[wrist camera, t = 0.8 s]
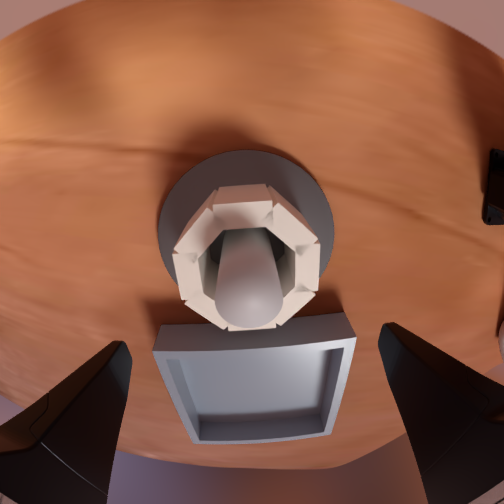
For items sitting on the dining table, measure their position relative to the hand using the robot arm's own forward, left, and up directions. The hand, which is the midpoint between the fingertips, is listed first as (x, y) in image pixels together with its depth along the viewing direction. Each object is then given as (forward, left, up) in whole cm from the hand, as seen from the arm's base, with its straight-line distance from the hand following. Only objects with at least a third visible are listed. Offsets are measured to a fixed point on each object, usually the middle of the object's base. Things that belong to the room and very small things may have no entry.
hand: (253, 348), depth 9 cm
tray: (0, +14, -10) cm, 17 cm away
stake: (0, 0, -10) cm, 10 cm away
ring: (0, 0, -9) cm, 9 cm away
